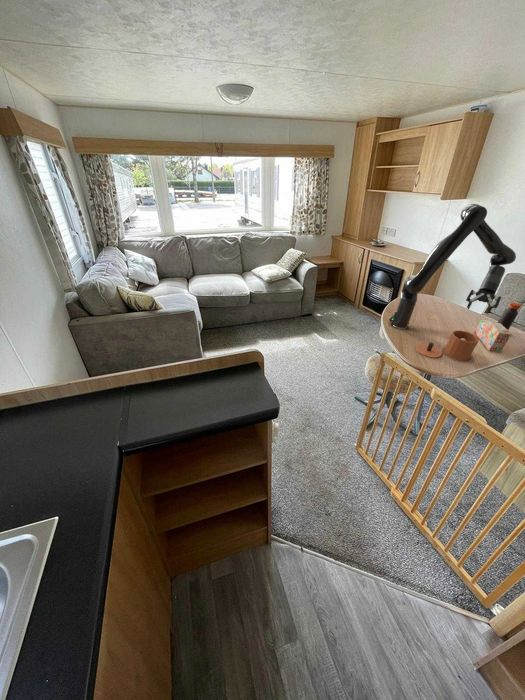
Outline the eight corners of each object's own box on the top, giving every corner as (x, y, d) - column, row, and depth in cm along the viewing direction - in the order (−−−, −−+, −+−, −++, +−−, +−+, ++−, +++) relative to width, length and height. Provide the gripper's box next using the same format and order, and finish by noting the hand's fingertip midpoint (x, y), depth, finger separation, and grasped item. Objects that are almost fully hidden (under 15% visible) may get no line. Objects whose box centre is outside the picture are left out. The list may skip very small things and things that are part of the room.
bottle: (506, 332, 184) (523, 304, 173) (504, 336, 180) (522, 307, 169) (493, 328, 188) (509, 300, 176) (491, 332, 184) (508, 304, 172)
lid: (412, 352, 162) (415, 343, 158) (418, 342, 170) (421, 334, 167) (438, 361, 155) (442, 353, 152) (443, 351, 164) (447, 342, 161)
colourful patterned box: (474, 332, 183) (483, 315, 176) (484, 333, 182) (494, 316, 175) (488, 350, 166) (499, 332, 159) (500, 352, 165) (512, 334, 158)
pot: (441, 354, 160) (450, 336, 154) (446, 345, 169) (454, 328, 162) (466, 363, 154) (477, 345, 147) (470, 353, 162) (480, 335, 156)
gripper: (476, 277, 155) (463, 304, 153) (508, 284, 147) (495, 312, 146) (473, 284, 161) (461, 309, 160) (504, 291, 154) (491, 317, 153)
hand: (477, 311), depth 153 cm, fingers open, 8 cm apart
